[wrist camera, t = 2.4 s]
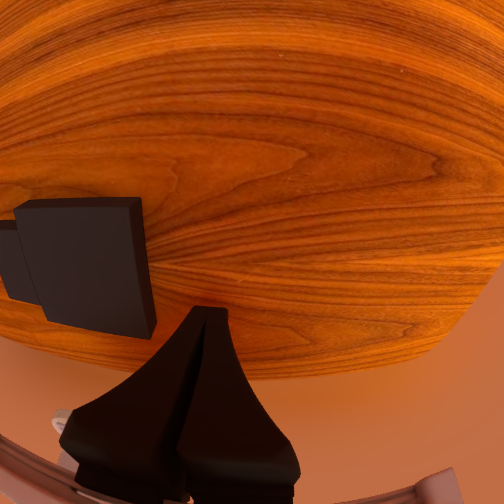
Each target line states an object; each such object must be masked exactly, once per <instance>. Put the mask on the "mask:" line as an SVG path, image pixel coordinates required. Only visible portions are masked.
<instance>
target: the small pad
mask: <svg viewBox="0 0 504 504" xmlns="http://www.w3.org/2000/svg"><path fill="white" fill-rule="evenodd" d="M14 215H15V220H0V275H1V278H2V280H3V283H4V286H5V288H6V291H7V294H8V296H9V298H11V299H15V300H19V301H23V302H27V303H31V304H36V305H41V306H42V309H43V311H44V313H45V316H46V318H47V320H48V321H51V322H55V323H59V324H64V325H68V326H73V327H78V328H83V329H88V330H93V331H98V332H104V333H109V334H115V335H121V336H127V337H134V338H141V339H148V340H150V339H151V337H152V334H153V332H154V329H155V326H156V324H157V320H156V315H155V309H154V304H153V298H152V292H151V285H150V278H149V272H148V264H147V256H146V248H145V240H144V230H143V220H142V208H141V198H140V197H97V198H60V199H38V200H28V201H26V202H25V203H23V204H21V205H19V206H18V207H16V208H14Z"/></svg>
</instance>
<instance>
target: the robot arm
mask: <svg viewBox="0 0 504 504" xmlns="http://www.w3.org/2000/svg"><path fill="white" fill-rule="evenodd" d="M56 425H57V427H58V428H59V429H60V430H61V431H62V434H61V437H60V439H59V443H60V445H61V447H62V451H61V454H60V457H59V459H58V462H57V465H56V464H54V463H51V462H49V461H47V460H45V459H43V458H41V457H39V456H37V455H35V454H34V453H32V452H30V451H28V450H26V449H24V448H23V447H21V446H19V445H17V444H16V443H14V442H12V441H10V440H9V439H7V438H6V437H4V436H2V435H1V434H0V492H1V493H2V494H4V495H5V496H6V497H7V498H9V499H10V500H11V501H13V502H14V503H15V504H188V503H187V502H188V501H190V496H191V497H192V499H193V500H194V503H193V504H293V497H294V484H295V483H296V482H297V480H298V479H299V478H300V475H301V472H300V467H299V462H298V459H297V457H296V454H295V452H294V449H293V447H292V445H291V443H290V441H289V440H288V439H287V437H286V436H284V434H283V433H282V432H281V431H280V429H279V428H278V427H277V426H276V424H275V423H274V422H273V420H272V419H271V418H270V416H269V415H268V414H267V412H266V411H265V409H264V408H263V406H262V405H261V403H260V402H259V400H258V399H257V397H256V395H255V394H254V392H253V390H252V388H251V386H250V384H249V383H248V381H247V379H246V377H245V374H244V372H243V370H242V368H241V365H240V363H239V360H238V358H237V355H236V352H235V349H234V346H233V342H232V339H231V335H230V330H229V325H228V310H227V309H226V308H221V307H207V306H194V307H192V309H191V311H190V312H189V313H188V315H187V316H186V318H185V319H184V321H183V322H182V323H181V325H180V326H179V327H178V328H177V330H176V331H175V332H174V333H173V335H172V336H171V337H170V338H169V339H168V341H167V342H166V343H165V344H164V345H163V346H162V347H161V348H160V349H159V350H158V352H157V353H156V354H155V355H154V356H153V357H152V358H151V359H150V360H149V361H148V362H147V363H145V364H144V365H143V366H142V367H141V368H140V369H139V370H137V371H136V372H135V373H134V374H132V375H131V376H130V377H129V378H127V379H126V380H125V381H123V382H122V383H121V384H119V385H118V386H116V387H115V388H113V389H112V390H110V391H109V392H107V393H105V394H104V395H102V396H101V397H99V398H97V399H95V400H93V401H91V402H89V403H87V404H85V405H83V406H81V407H79V408H77V409H75V410H73V411H72V413H71V415H70V416H69V418H68V420H67V422H66V424H62V423H59V422H57V423H56ZM335 504H463V500H462V496H461V493H460V489H459V486H458V483H457V479H456V476H455V473H454V469H453V468H452V467H450V468H448V469H445V470H443V471H440V472H438V473H435V474H433V475H430V476H427V477H425V478H423V479H421V480H420V481H419V482H417V483H416V484H415V485H412V486H409V487H406V488H403V489H399V490H396V491H392V492H388V493H385V494H381V495H377V496H372V497H368V498H363V499H358V500H353V501H348V502H341V503H335Z"/></svg>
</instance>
